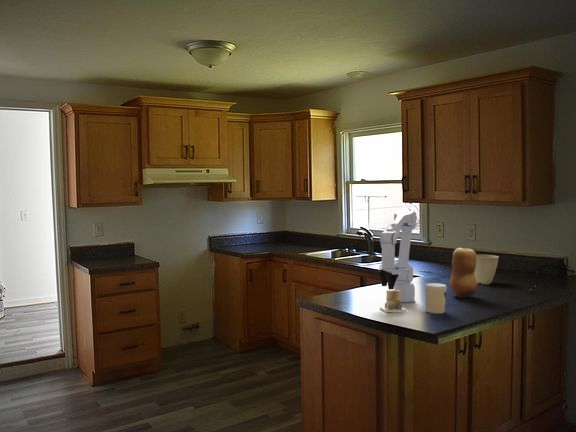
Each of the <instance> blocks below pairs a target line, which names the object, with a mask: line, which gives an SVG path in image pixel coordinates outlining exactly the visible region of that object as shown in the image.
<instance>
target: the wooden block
mask: <svg viewBox="0 0 576 432" xmlns="http://www.w3.org/2000/svg"><path fill="white" fill-rule="evenodd" d="M385 300H386V302H385V303H386V308H387V309H389V305H394V309H397V305H402V304H401V303H402V302H401V291H400V290H394V289H390V290H389V289H388V290H386V299H385Z"/></svg>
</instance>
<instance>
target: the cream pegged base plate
mask: <svg viewBox="0 0 576 432" xmlns="http://www.w3.org/2000/svg"><path fill="white" fill-rule="evenodd" d="M380 309H381V310H380ZM379 310H380V311H383V312H384V313H385V312H386V314H388V313H387V312H393V313H407V312H408V309H407V308H405V307H404V306H403V304H401V305H397V309H394V305H389V309H387V308H386V302H385V303H384V306H380V307H379Z"/></svg>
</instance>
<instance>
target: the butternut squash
mask: <svg viewBox="0 0 576 432" xmlns="http://www.w3.org/2000/svg"><path fill="white" fill-rule="evenodd" d="M476 255H477V253H476V251H475V250H474V249H472V248H465V247H464V248H463V247H457V248H456V249H455V250H454V251H453V252H452V260H451V275H450V279H449V286H450V288H451V290H452V291H453V293H454V295H455V296H456V297H457V298H459V299H464V298H469V297H470V296H472V295H474V294H475V293H476V292H477V290H478V283H477V280H476V277H475V274H474V272H475V268H476Z"/></svg>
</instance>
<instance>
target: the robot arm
mask: <svg viewBox="0 0 576 432" xmlns="http://www.w3.org/2000/svg"><path fill="white" fill-rule="evenodd" d="M417 219H418V218H417V212H416V211H415V210H413V211H412V210H409V211H408V210H396V211H395V212H394V215H393V222H391V223H390V224H389V225H388V226H387V228H386V230H385V231H383V232H381V233H380V236H379V242H380V248H381V265H380V264H379V270H377V275H378V276H379V278H380V282H381V286H382V287H388V290H400V291H401V303H414V302H416V300H415V299H416V298H415V295H416V289H415V288H416V287H415V284H414V282H413V280H414V268H413V266H412V265H411V264H410V263H409V257H410V249H411V241H412V233H413V230H415V229H416V228H417V227H416V226H417V221H418V220H417ZM400 233H401V234H400ZM399 234H400V243H399V252H398V258H397V259H398V260H397V262H396V263H395V260H396V259H395V258H396V257H395V254H396V253H395V252H396V247H395V246H396V244H397V240H398V237H399Z"/></svg>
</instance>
